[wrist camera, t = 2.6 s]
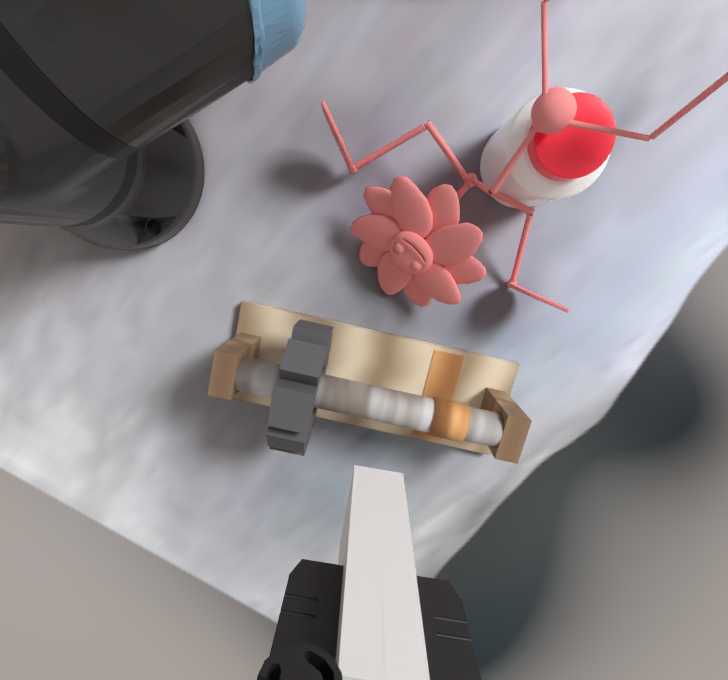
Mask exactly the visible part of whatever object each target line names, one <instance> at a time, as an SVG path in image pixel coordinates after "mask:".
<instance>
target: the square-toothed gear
mask: <svg viewBox="0 0 728 680" xmlns="http://www.w3.org/2000/svg"><path fill="white" fill-rule="evenodd" d="M332 331H333V327H332V326H328V325H323V324H319V323H314V322H310V321H306V320H301V319H300V320H299V321H298V322H297V323H296V324H295V325H294V326H293V331H292V336H291V339H290V338H289V340H288V343H287V346H286V349H285V352H284V355H283V358H282V361H281V364H280V367H279V377H280V378H279V380H278V381H277V383H276V384H275V385H274V389H273V394H272V399H271V405H270V410H269V415H268V421H267V426H269V428H268V432H267V441H268V446H270V449H274V450H279V451H283V452H288V453H293V454H297V455H302V456H304V454H305V451H306V448H307V445H308V442H309V439H310V435H311V430H312V427H313V424H314V420H315V416H316V412H317V408H314V404H315V399H316V395H317V390H318V385H319V381H320V377H321V374H326V369H327V365H328V360H329V353H330V349H331V342H332V335H333V333H332Z"/></svg>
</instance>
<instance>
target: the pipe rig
mask: <svg viewBox="0 0 728 680" xmlns="http://www.w3.org/2000/svg"><path fill="white" fill-rule="evenodd" d="M300 319H301V320H306V321H310V322H314V323H319V324H323V325H328V326H332V327H333V331H332V333H333V335H332V342H331V349H330V353H329V360H328V365H327V369H326V374H321V377H320V381H319V385H318V390H317V395H316V399H315V404H314V408H317V412H316V416H315V417H320V418H324V419H329V420H333V421H338V422H342V423H347V424H352V425H356V426H361V427H365V428H370V429H374V430H379V431H383V432H388V433H392V434H397V435H401V436H406V437H411V438H415V439H420V440H424V441H429V442H433V443H438V444H442V445H447V446H451V447H456V448H461V449H465V450H470V451H474V452H479V453H483V454H488V455H491V453H492V454H493V456H494V458H495V459H499V460H503V461H508V462H512V463H517V464H518V461H519V458H520V455H521V452H522V449H523V446H524V443H525V440H526V437H527V434H528V431H529V428H530V424H531V420H530V419H529V417H528V416H527V415H526V414H525V413H524V412H523V411H522V410H521V408H520V407H519V406H518V405H517V404H516V403H515V402H514V401H513V399H512V398H511V397H510V393H511V389H512V386H513V383H514V380H515V377H516V373H517V370H518V367H519V364H518V363H517V362H514V361H510V360H505V359H501V358H496V357H492V356H487V355H483V354H479V353H474V352H470V351H465V350H461V349H456V348H452V347H448V346H443V345H439V344H434V343H430V342H425V341H421V340H416V339H412V338H408V337H403V336H399V335H394V334H390V333H385V332H381V331H377V330H372V329H368V328H363V327H359V326H354V325H350V324H346V323H341V322H337V321H332V320H328V319H323V318H319V317H314V316H310V315H306V314H301V313H297V312H292V311H288V310H283V309H279V308H275V307H270V306H266V305H261V304H257V303H252V302H248V301H243V302H241V308H240V314H239V320H238V326H237V332H236V336H235V337H234V338H232V339H231V340H229V341H228V342H226V343H225V344H223V345H222V346H220V347H219V348H217V349H216V350H214V356H213V363H212V369H211V376H210V382H209V388H208V396H213V397H217V398H222V399H226V400H232V399H233V398H234V399H238V400H243V401H247V402H252V403H256V404H261V405H265V406H270V405H271V399H272V394H273V389H274V385H275V384H276V383H277V381H278V380H279V378H280V377H279V367H280V364H281V361H282V358H283V355H284V352H285V349H286V346H287V343H288V340H289V338H290V339H291V336H292V331H293V326H294V325H295V324H296V323H297V322H298V321H299V320H300Z"/></svg>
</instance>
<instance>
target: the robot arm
mask: <svg viewBox="0 0 728 680" xmlns="http://www.w3.org/2000/svg"><path fill="white" fill-rule="evenodd" d="M305 18H306V4H305V0H0V223H6V224H26V225H45V226H59V227H61V228H63V229H65V230H67V231H68V232H70V233H72V234H74V235H76V236H77V237H79V238H81V239H83V240H85V241H88V242H90V243H93V244H96V245H99V246H103V247H107V248H114V249H141V248H147V247H152V246H155V245H158V244H161V243H163V242H165V241H167V240H168V239H170V238H172V237H173V236H175V235H176V234H177V233H178V232H180V231H181V230H182V229H183V228H184V227H185V225H186V224H187V223H188V222H189V220H190V219H191V218H192V216H193V214H194V213H195V211H196V209H197V206H198V204H199V201H200V198H201V195H202V191H203V185H204V160H203V154H202V150H201V146H200V143H199V140H198V138H197V135H196V133H195V131H194V129H193V127H192V125H191V123H190V122H189V120H188V118H190V117H191V116H193V115H194V114H196V113H197V112H199V111H200V110H202V109H204V108H205V107H207V106H208V105H210V104H211V103H213V102H214V101H216V100H218V99H219V98H221V97H222V96H224V95H225V94H227V93H229V92H230V91H232V90H233V89H235V88H236V87H238V86H239V85H241V84H243V83H244V82H246V81H247V82H248V83H253V82H255V81H256V80H257V79H258V77H259V76H260V74H261V72H262V71H263V70H265V69H266V68H268V67H269V66H270V65H272V64H273V63H275V62H276V61H277V60H279V59H280V58H282V57H283V56H284V55H286V54H287V53H289V52H290V51H291V50H292V49H294V47H295V46H296V45H297V44H298V42H299V41H300V38H301V35H302V32H303V29H304V25H305ZM257 680H481V676H480V672H479V668H478V664H477V660H476V656H475V652H474V648H473V644H472V642H471V636H470V632H469V628H468V625H467V620H466V616H465V612H464V607H463V603H462V600H461V598H460V597H459V595H458V594H457V592H456V591H455V590H454V588H453V587H452V585H451V584H450V582H449V581H445V580H439V579H433V578H426V577H420V576H416V569H415V561H414V554H413V546H412V539H411V531H410V523H409V516H408V508H407V500H406V493H405V485H404V477H403V473H398V472H392V471H386V470H380V469H374V468H368V467H362V466H356V465H354V470H353V476H352V481H351V487H350V492H349V497H348V503H347V508H346V514H345V519H344V525H343V530H342V536H341V541H340V550H339V559H338V565H336V564H330V563H324V562H317V561H311V560H305V559H302V560H301V561H300V562H299V564H298V565H297V566H296V567H295V568H294V570H293V571H292V572H291V573H290V575H289V579H288V583H287V587H286V591H285V596H284V599H283V603H282V607H281V612H280V615H279V620H278V624H277V628H276V632H275V636H274V640H273V644H272V648H271V652H270V656H269V657H268V658H267V659H266V660H265V661H264V664H263V666H262V668H261V670H260V672H259V674H258V677H257Z"/></svg>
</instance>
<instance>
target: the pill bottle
mask: <svg viewBox="0 0 728 680" xmlns="http://www.w3.org/2000/svg"><path fill="white" fill-rule="evenodd" d="M563 88H565V87H563ZM566 89H567V90H569V91H570V92H571V93H572V94H573V96H574V97H575V100H576V103H577V111H576V115H575V117H574V119H573V120H575V121H580V122H585V123H590V124H595V125H600V126H605V127H610V128H615V129H616V125H615V120H614V117H613V114H612V112H611V110H610V109H609V107H608V106H607V104H606V103H605V102H604V101H603V100H601V99H600V98H598V97H597V96H595V95H592V94H589V93H586V92H584V91H581V90H578V89H575V88H566ZM541 94H542V93H540V94H538V95H537V96H535V97H533V98H532V99H531V100H529V101H528V102H527V103H526V104H525V105H524V106H522V107H521V108H520V109H519V110H518V111H517V112H516V113H515V114H514V115H513V116H512V117H511V118H510V119H509V120H508V121H506V122H505V123H504V124H503V125H502V126H501V127H500V128H499V129H498V130H497V131H496V132H495V133H494V134H493V135H492V136H491V138H490V139H489V140H488V142H487V144H486V145H485V147H484V150H483V153H482V156H481V162H480V174H481V178H482V182H483V183H484V184H486V185H488V186H490V187H491V186H492V185H493V183H494V182H495V181H496V179H497V178H498V176H499V175H500V173H501V172H502V171H503V169H504V168H505V166H506V165H507V164H508V162H509V161H510V159H511V158H512V156H513V155H514V154H515V152H516V151H517V149H518V148H519V147H520V145H521V144H522V142H523V141H524V139H525V138H526V137H527V135H528V134H529V132H530V131H531V130H532V128H533V126H532V119H531V109H532V106H533V104H534V102H535V101H536V99H537V98H538V97H539V96H540V95H541ZM615 137H616V135H613V134H608V133H603V132H597V131H592V130H587V129H582V128H577V127H571V126H567V127H566V128H565V129H564V130H562V131H560V132H558V133H556V134H551V135H549V134H544V133H542V132H536V134H535V135H534V137H533V138H532V140H531V141H530V143H529V144H528V146H527V147H526V149H525V150H524V152H523V153H522V155H521V156H520V158H519V159H518V161H517V162H516V164H515V165H514V167H513V168H512V170H511V171H510V173H509V174H508V176H507V177H506V179H505V180H504V182H503V183H502V185H501V186H500V188H499V189H498V191H500V192H502V193H504V194H506V195H507V196H509V197H511V198H513V199H515V200H517V201H519V202H521V203H523V204H525V205H527V206H528V207H532V206H536V205H540V204H545V203H549V202H553V201H557V200H561V199H565V198H568V197H571V196H574V195H576V194H578V193H580V192H582V191H584V190H585V189H586V188H587V187H589V186H590V185H591V184H592V183H593V182H594V181H595V180H596V179H597V178H598V177H599V175H600V174H601V173H602V171H603V169H604V168H605V166H606V164H607V161H608V159H609V156H610V153H611V151H612V148H613V146H614V142H615ZM490 196H491V197H492V198H493V199H495V200H496V201H497V202H499V203H500V204H502V205H504V206H507V207H511V208H516V207H514V206H512V205H510V204H508V203H506V202H504V201H502V200H500V199H498V198H497V197H495V196H493V195H490Z"/></svg>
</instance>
